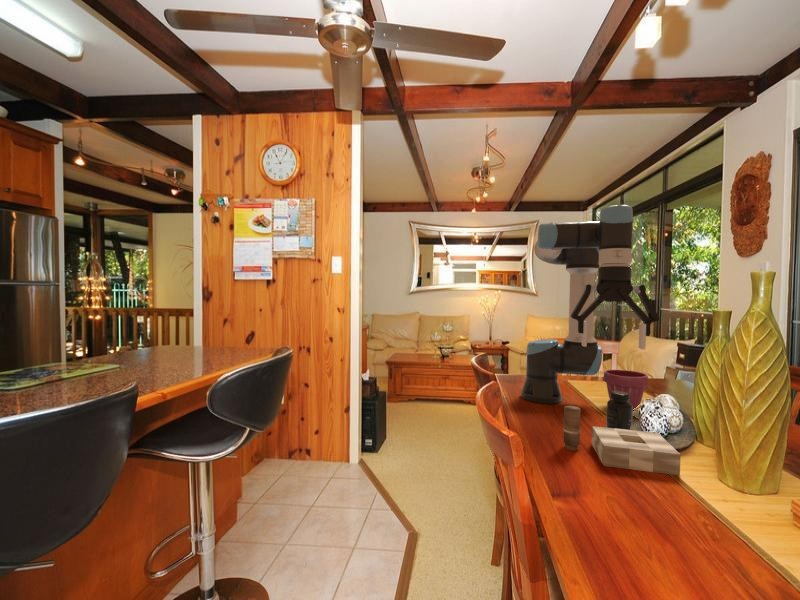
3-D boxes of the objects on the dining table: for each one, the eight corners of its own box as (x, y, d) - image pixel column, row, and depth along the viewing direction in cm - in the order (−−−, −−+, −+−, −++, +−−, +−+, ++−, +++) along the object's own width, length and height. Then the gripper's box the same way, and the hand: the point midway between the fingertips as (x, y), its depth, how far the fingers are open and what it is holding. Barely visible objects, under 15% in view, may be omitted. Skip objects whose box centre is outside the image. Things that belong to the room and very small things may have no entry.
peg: (561, 444, 106) (562, 405, 105) (578, 446, 105) (579, 406, 104) (563, 450, 102) (564, 409, 101) (581, 452, 101) (582, 411, 100)
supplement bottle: (635, 436, 112) (637, 396, 112) (610, 434, 113) (611, 394, 113) (626, 428, 119) (627, 390, 118) (603, 426, 120) (604, 389, 120)
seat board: (591, 443, 106) (592, 426, 106) (657, 451, 102) (657, 432, 102) (603, 465, 93) (604, 445, 93) (679, 475, 88) (680, 454, 88)
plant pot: (602, 399, 151) (603, 367, 151) (644, 404, 145) (645, 371, 144) (603, 409, 138) (604, 374, 138) (649, 415, 132) (650, 378, 132)
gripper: (564, 265, 99) (562, 346, 100) (676, 264, 92) (673, 352, 93) (561, 267, 106) (559, 342, 107) (664, 266, 99) (661, 347, 100)
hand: (612, 347), depth 100 cm, fingers open, 13 cm apart
